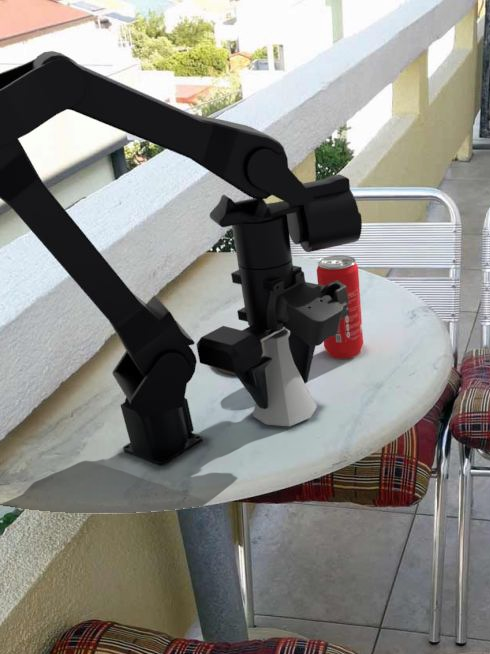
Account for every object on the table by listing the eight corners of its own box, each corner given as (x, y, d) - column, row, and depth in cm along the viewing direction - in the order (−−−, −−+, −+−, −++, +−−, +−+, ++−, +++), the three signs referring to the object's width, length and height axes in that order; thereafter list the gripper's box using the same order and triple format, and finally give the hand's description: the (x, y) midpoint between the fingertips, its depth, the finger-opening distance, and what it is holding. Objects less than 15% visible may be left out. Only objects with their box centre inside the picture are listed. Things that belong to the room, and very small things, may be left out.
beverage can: (359, 361, 111) (352, 269, 103) (320, 359, 112) (311, 268, 104) (367, 344, 115) (361, 254, 107) (329, 343, 116) (321, 254, 108)
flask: (328, 406, 101) (320, 326, 95) (291, 433, 97) (280, 350, 91) (279, 394, 105) (269, 315, 99) (242, 419, 100) (228, 339, 94)
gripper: (264, 304, 80) (285, 448, 90) (378, 244, 92) (386, 378, 101) (180, 285, 85) (208, 423, 95) (298, 231, 97) (312, 359, 107)
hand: (283, 395), depth 99 cm, fingers closed on flask, 7 cm apart
